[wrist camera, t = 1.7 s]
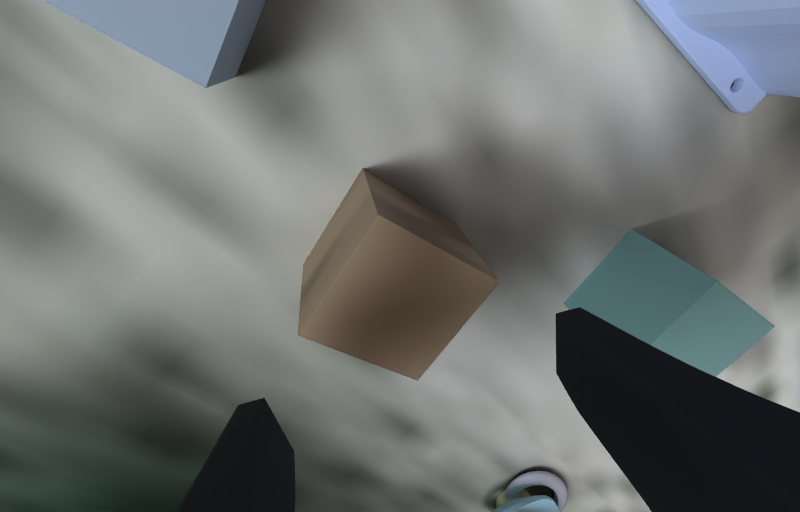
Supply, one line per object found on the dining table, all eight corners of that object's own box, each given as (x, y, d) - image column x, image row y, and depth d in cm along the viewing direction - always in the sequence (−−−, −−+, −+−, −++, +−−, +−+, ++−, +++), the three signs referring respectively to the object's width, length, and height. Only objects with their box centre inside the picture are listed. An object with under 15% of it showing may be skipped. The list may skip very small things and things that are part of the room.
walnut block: (456, 224, 17) (499, 281, 13) (396, 305, 18) (417, 380, 14) (362, 167, 15) (377, 214, 11) (303, 263, 16) (297, 335, 12)
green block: (684, 269, 20) (774, 325, 16) (618, 334, 21) (686, 401, 17) (630, 228, 18) (717, 280, 14) (562, 302, 20) (624, 368, 16)
